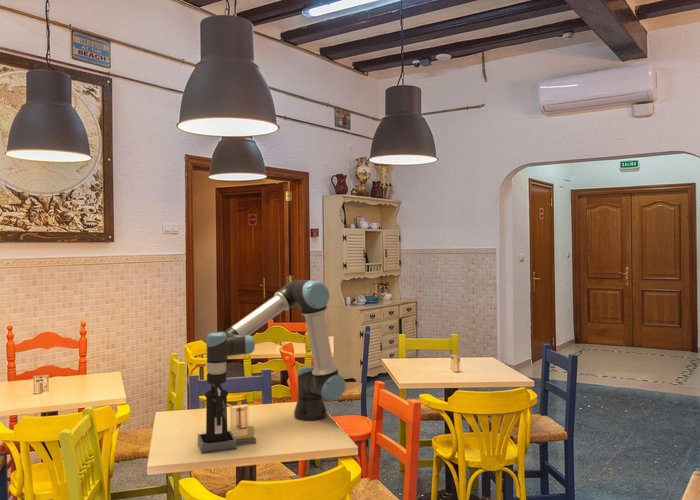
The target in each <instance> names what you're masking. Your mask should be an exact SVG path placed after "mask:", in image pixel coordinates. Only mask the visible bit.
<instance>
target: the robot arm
mask: <svg viewBox="0 0 700 500" xmlns="http://www.w3.org/2000/svg"><path fill="white" fill-rule="evenodd" d="M329 300H330V292H329V289H328V287H327V286H326V284H324V283H323V282H321V281H318V280H314V279H313V280H310V279H295V280H293V281H290V282H289V283H287V284H285V285H284V286H283V287H281V288H280V289H278V290H277V291H276V292H275V293H274V295H273V296H272V297H271V298H269V299H268V300H266V302H264V303H263V304H261V305H260V306H258V307H257V308H256V309H255V310H253V311H251V312H250V313H248V314H247V315H246V316H245V317H243V318H242V319H240V320H239V321H237V322H236V323H234V324H233V325H231V326H230V327H228V328H227V329H226V330H225V331H222V330H221V331H218V332H210V333H208V334H207V337H206V344H205V345H206V364H205V366H204V367H205V368H206V372H207V374H206V383H207V384H209V385H210V390H211V391H212V392H213V393H214V392H215V394H216V402H215V416H213V417H214V418H215V434H220V433H222V416H223V401H222V392H223V391H222V389H223V387H222V386H221V384H225V383H226V382H227V373H226V372H227V357H231V356H233V357H234V356H239V355H240V356H242V355H245V356H246V355H248V354H252V353H253V352H254V350H255V346H256V342H255V339H254V337H253V336H252V334H253V333H254V332H257V330H259V329H260V328H261V327H262V326H264V325H266V324H267V323H268V322H270V321H271V320H273V318H275V317H276V316H278V315H279V314H281V313H282V312H283V311H289V310H290V309H291V308H294V307H296V306H297V307H299V312H300V314H301V315H302V316H304V319H305V325H306V330H307V335H308V342H309V345H310V351H311V357H312V363H313V365H309V366H307V365H306V366H303V367H299V368H298V370H297V400H296V401H297V402H296V405H295V408H294V412H293V415H294V417H293V418H295V419H297V420H301V421H318V420H323V419H325V418H327V417H328V412H327V407H326V404H325V401H329V402H333V401H336V400H338V399H340V398H341V397H342V395H343V393H344V392H345V391H346V382H345V381H346V380H345V379H344V377H343V376H341V375H340V374H339V370H338V366H337V365H336V364H334V361H333V354H332V350H331V342H330V337H329V332H328V328H327V327H328V326H327V322H326V321H327V320H326V316H325V312H326V311H327V309H328V308H327V304H328V303H329Z"/></svg>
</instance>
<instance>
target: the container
mask: <svg viewBox="0 0 700 500" xmlns="http://www.w3.org/2000/svg"><path fill="white" fill-rule="evenodd" d="M222 391H223V392H222V401H223V416H222V433H220V434H215V418H214V417H213V416H215V402H216V394H215V392H214V393H213V392H212V391H211V389H210V390H207V391H206V392H205V393H204V397H205V398H206V404H205V405H206V407H205V409H206V410H205V411H206V414H205V416H206V417H205V418H206V419H205V420H206V422H205V425H206V426H205V428H206V429H205V430H206V431H205V434H206V442H207V443H211V442H220V441H227V440H228V434H227V431H228V401H227V399H228V398H227V397H228V396H229V392H228V391H227V390H226V389H224V388H222Z"/></svg>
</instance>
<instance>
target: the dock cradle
mask: <svg viewBox="0 0 700 500" xmlns="http://www.w3.org/2000/svg"><path fill="white" fill-rule="evenodd" d="M227 434H228V440H227V441H220V442H211V443H207V442H206V433H201V434H200V433H199V434H197V445H198V447H199V449H200V450H199V451H200V453H201V454H209V453H216V452H217V453H218V452H225V451H233V450H237V446H236V439H235V437H234V436H233V433H232V431H231V430H227Z"/></svg>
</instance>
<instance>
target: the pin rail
mask: <svg viewBox="0 0 700 500" xmlns="http://www.w3.org/2000/svg"><path fill="white" fill-rule="evenodd" d="M254 444H257V438H256V437H254V438H252V439H243V440H236V447H238V446H245V445H254Z"/></svg>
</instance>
